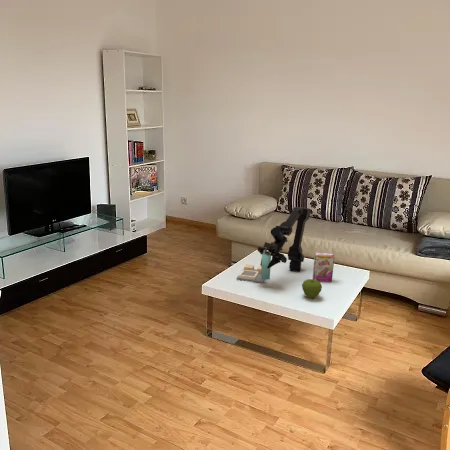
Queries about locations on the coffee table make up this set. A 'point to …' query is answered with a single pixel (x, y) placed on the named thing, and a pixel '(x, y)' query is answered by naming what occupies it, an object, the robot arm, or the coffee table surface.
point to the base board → (251, 274)
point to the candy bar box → (323, 267)
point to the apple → (311, 288)
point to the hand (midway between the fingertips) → (264, 266)
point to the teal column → (265, 266)
